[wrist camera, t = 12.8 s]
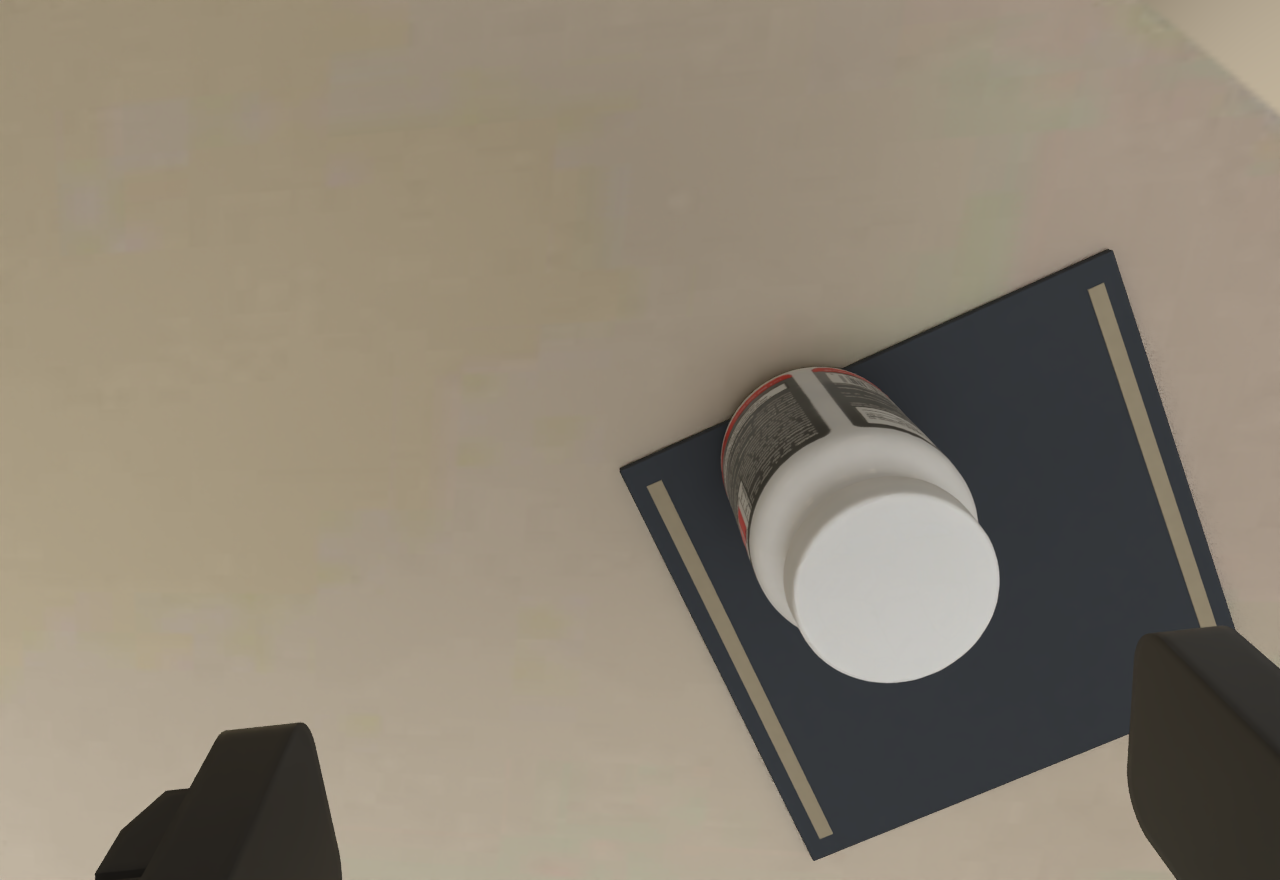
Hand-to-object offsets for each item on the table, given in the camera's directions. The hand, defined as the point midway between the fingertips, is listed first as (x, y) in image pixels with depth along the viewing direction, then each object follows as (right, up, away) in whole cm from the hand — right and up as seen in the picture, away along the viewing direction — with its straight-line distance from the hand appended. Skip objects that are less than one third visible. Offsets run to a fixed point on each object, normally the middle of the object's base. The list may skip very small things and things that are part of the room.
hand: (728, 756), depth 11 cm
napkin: (+9, -1, +25) cm, 27 cm away
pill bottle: (+4, +3, +23) cm, 24 cm away
